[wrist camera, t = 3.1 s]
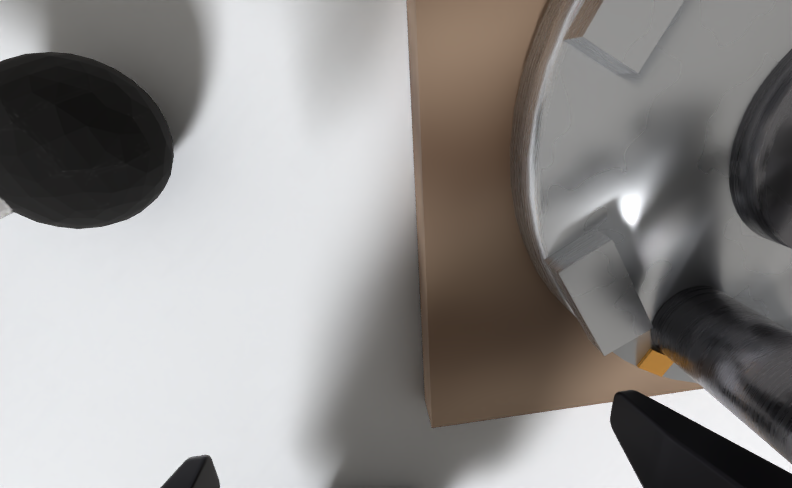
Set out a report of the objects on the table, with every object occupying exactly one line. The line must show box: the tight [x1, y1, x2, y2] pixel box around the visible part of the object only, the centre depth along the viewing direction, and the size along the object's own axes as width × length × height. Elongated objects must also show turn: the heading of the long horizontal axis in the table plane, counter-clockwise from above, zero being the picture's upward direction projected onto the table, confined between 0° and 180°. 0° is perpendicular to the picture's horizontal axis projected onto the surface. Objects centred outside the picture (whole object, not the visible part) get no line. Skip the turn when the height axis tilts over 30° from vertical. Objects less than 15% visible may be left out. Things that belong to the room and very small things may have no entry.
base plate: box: [407, 0, 703, 428], centre depth 13 cm, size 21×21×2 cm
